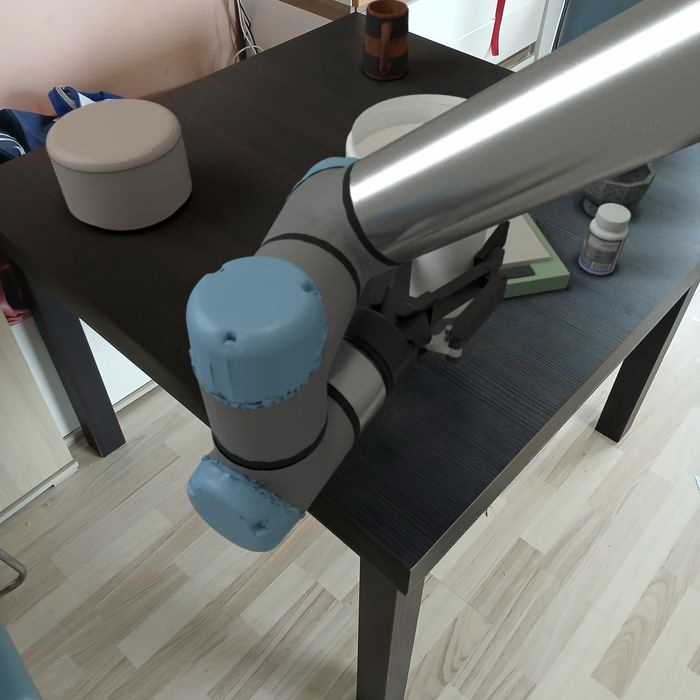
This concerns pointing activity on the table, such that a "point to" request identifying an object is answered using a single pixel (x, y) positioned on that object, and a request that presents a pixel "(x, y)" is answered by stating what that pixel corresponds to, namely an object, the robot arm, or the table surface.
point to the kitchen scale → (529, 260)
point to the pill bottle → (605, 239)
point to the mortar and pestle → (620, 189)
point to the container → (120, 163)
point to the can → (445, 266)
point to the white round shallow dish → (394, 121)
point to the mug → (386, 39)
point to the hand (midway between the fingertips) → (470, 220)
